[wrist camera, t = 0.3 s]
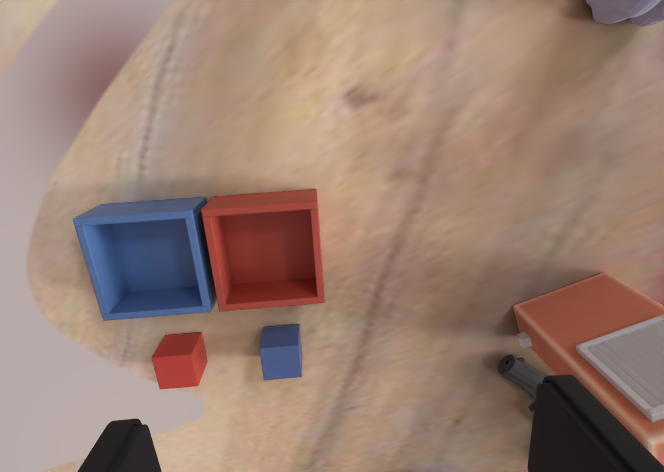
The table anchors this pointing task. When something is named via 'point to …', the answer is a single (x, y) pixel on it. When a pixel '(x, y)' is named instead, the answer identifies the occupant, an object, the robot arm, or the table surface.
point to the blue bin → (148, 258)
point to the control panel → (604, 348)
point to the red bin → (265, 249)
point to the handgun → (522, 375)
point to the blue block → (281, 352)
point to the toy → (628, 11)
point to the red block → (180, 360)
